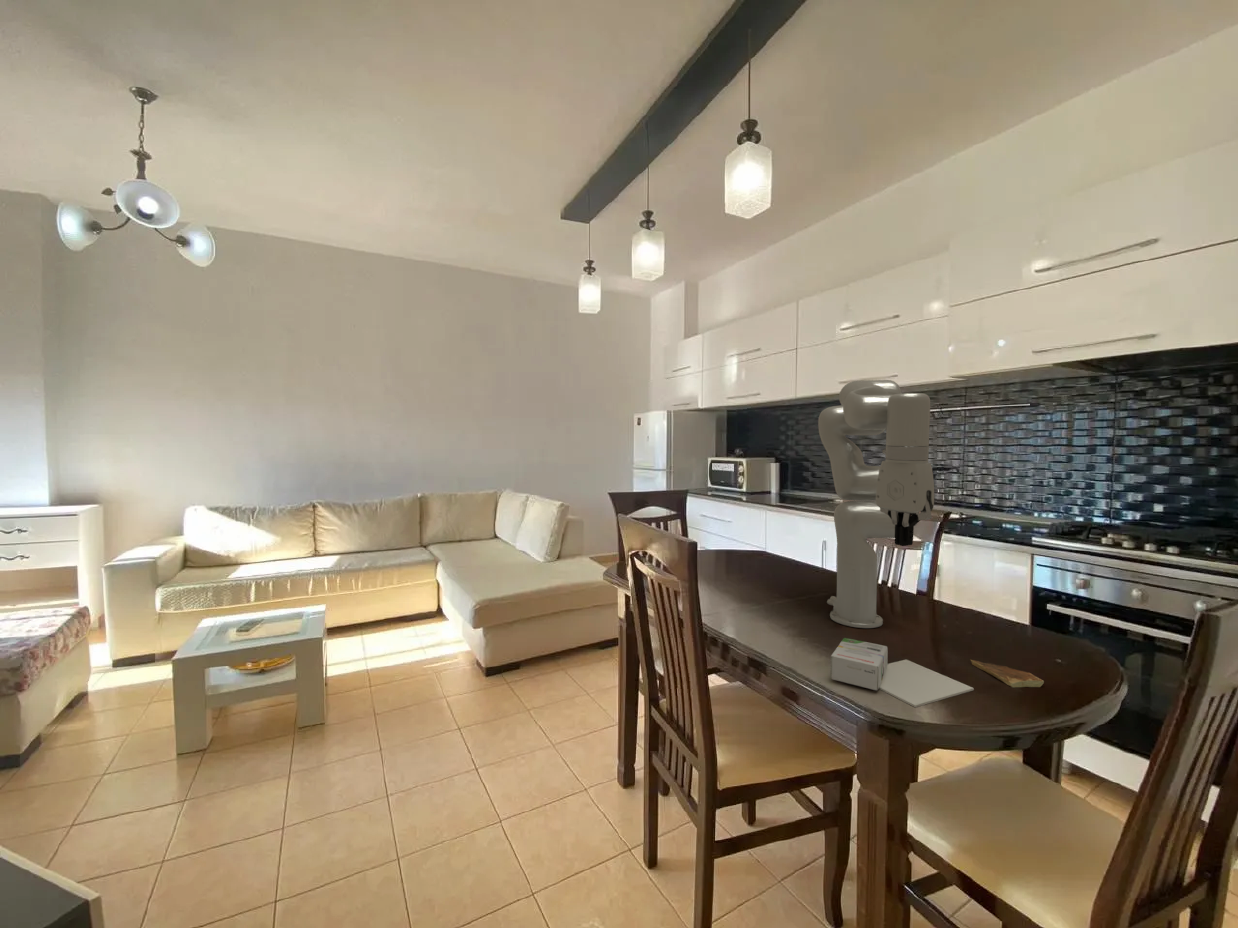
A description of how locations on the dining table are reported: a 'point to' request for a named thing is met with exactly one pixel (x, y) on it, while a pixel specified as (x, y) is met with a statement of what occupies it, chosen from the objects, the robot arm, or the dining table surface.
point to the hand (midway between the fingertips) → (903, 544)
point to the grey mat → (919, 684)
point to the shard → (1009, 675)
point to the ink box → (859, 663)
